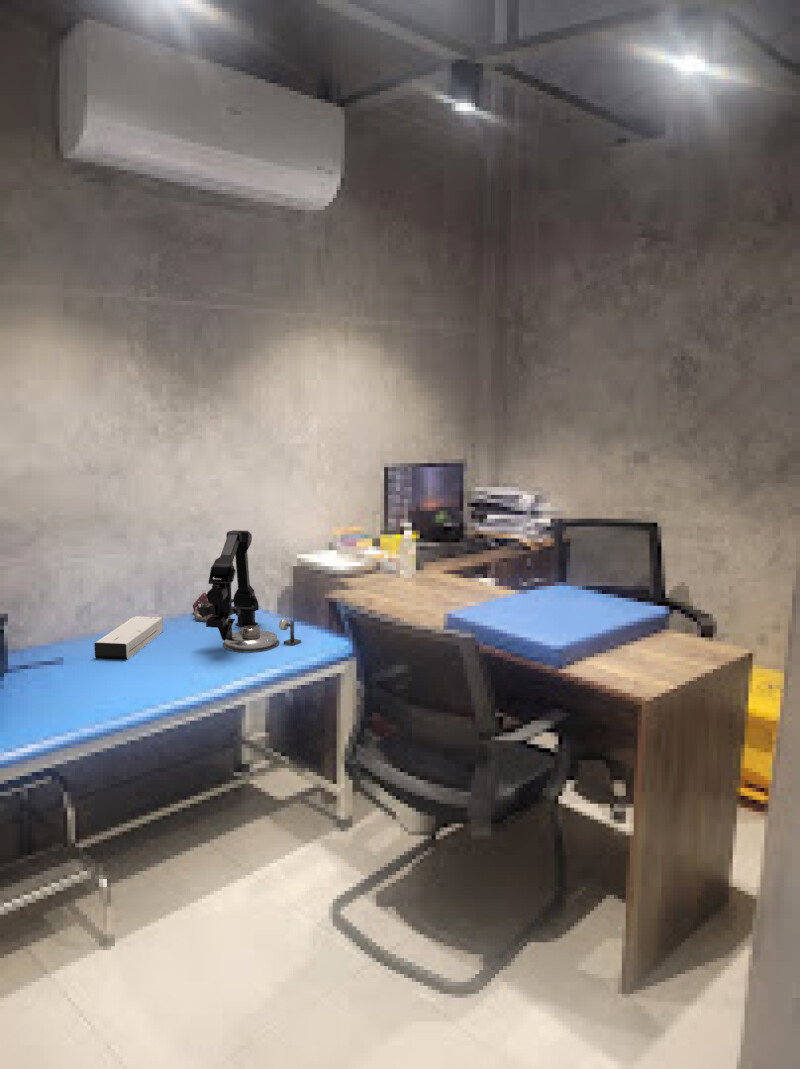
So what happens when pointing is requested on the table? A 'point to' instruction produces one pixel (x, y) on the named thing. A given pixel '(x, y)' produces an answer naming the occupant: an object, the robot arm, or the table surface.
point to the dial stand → (284, 626)
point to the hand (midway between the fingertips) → (224, 639)
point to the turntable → (250, 641)
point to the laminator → (128, 638)
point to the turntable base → (251, 650)
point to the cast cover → (250, 632)
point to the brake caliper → (202, 601)
